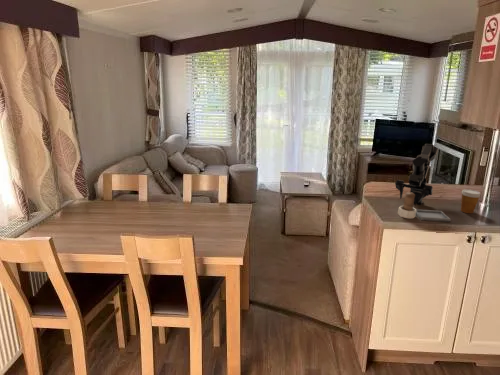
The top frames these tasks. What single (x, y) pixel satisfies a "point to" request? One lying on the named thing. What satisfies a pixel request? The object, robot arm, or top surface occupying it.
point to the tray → (432, 215)
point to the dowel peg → (408, 201)
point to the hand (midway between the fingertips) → (409, 200)
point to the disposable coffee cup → (469, 200)
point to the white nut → (406, 213)
